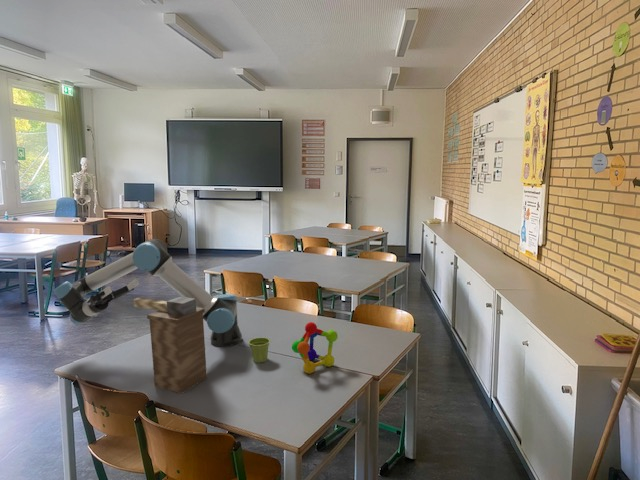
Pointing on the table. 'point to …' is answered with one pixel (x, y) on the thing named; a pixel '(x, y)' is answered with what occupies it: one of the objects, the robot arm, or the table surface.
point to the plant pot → (259, 349)
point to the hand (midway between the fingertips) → (124, 285)
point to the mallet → (169, 305)
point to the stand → (178, 349)
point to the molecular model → (308, 351)
